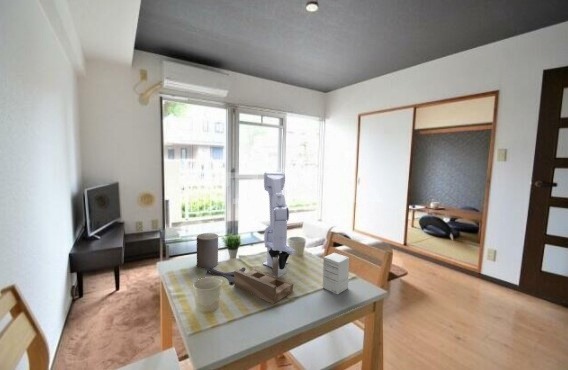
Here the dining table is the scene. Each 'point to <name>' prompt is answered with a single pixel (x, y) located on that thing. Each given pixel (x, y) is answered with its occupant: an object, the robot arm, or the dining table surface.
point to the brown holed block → (262, 285)
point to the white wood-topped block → (277, 267)
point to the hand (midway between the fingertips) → (279, 267)
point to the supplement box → (335, 273)
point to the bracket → (224, 274)
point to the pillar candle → (207, 250)
